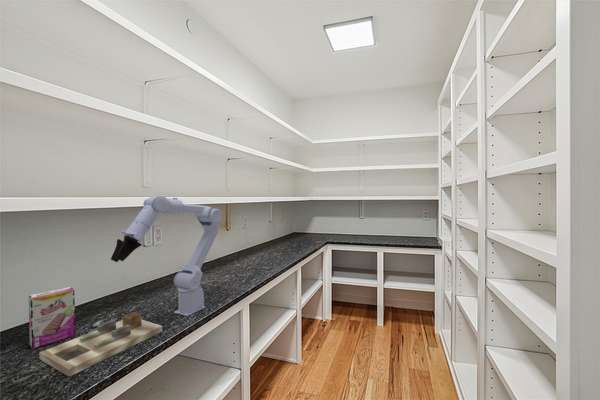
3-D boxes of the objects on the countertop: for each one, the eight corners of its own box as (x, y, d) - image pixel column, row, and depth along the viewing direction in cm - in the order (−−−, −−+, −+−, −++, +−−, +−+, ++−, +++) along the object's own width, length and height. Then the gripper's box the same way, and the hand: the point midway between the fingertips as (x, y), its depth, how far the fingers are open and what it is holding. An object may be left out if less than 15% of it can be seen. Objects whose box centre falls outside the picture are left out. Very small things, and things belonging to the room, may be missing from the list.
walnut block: (134, 323, 100) (134, 312, 100) (141, 325, 98) (141, 314, 98) (123, 328, 97) (122, 316, 96) (129, 330, 95) (129, 318, 95)
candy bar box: (32, 350, 87) (29, 298, 87) (29, 345, 91) (27, 295, 90) (76, 336, 96) (74, 288, 96) (73, 331, 99) (71, 285, 99)
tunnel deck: (131, 321, 106) (131, 308, 106) (162, 331, 97) (161, 317, 97) (39, 359, 82) (38, 342, 82) (69, 376, 74) (68, 357, 74)
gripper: (125, 222, 102) (99, 255, 94) (136, 215, 91) (109, 253, 84) (143, 232, 105) (120, 265, 98) (156, 227, 95) (131, 263, 88)
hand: (116, 260), depth 91 cm, fingers open, 7 cm apart
